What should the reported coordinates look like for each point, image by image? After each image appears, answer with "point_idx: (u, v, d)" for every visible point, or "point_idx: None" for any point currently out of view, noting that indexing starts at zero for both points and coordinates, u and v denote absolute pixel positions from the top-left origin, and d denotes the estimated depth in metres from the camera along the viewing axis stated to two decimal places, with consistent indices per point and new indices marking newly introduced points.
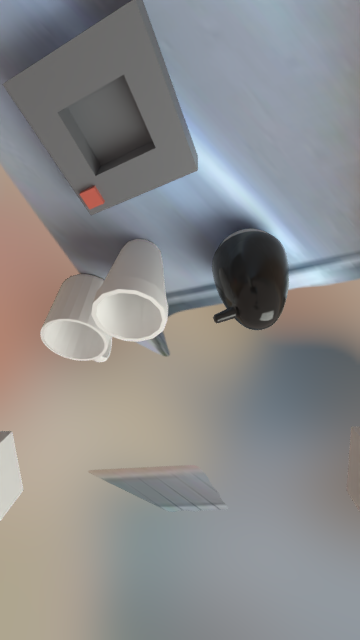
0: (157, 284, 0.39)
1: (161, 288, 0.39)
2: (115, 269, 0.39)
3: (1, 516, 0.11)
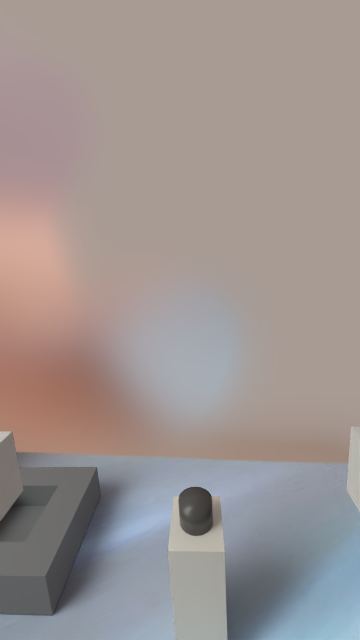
0: None
1: None
2: None
3: (1, 516, 0.11)
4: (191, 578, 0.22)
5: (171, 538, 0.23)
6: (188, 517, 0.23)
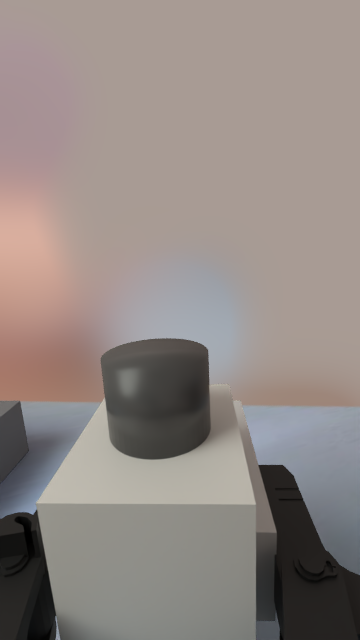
0: None
1: None
2: None
3: None
4: (128, 609, 0.06)
5: (67, 466, 0.07)
6: (125, 392, 0.06)
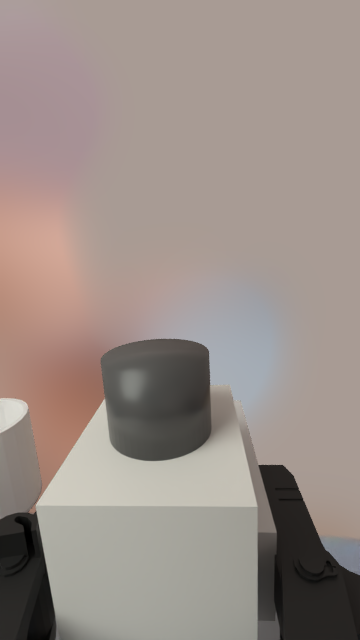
0: None
1: None
2: None
3: None
4: (129, 612, 0.06)
5: (67, 468, 0.07)
6: (125, 393, 0.06)
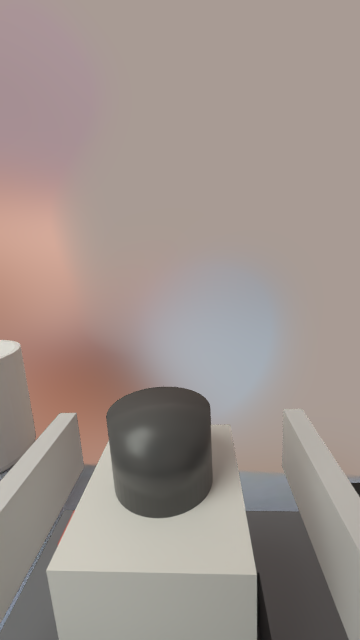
0: None
1: None
2: None
3: (71, 488, 0.12)
4: None
5: (74, 526, 0.07)
6: (130, 455, 0.07)
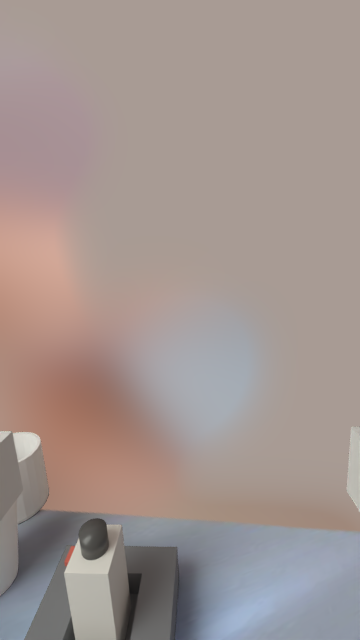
0: None
1: None
2: (13, 525, 0.38)
3: (1, 516, 0.11)
4: (83, 595, 0.28)
5: (70, 562, 0.28)
6: (83, 545, 0.28)
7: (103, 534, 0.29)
